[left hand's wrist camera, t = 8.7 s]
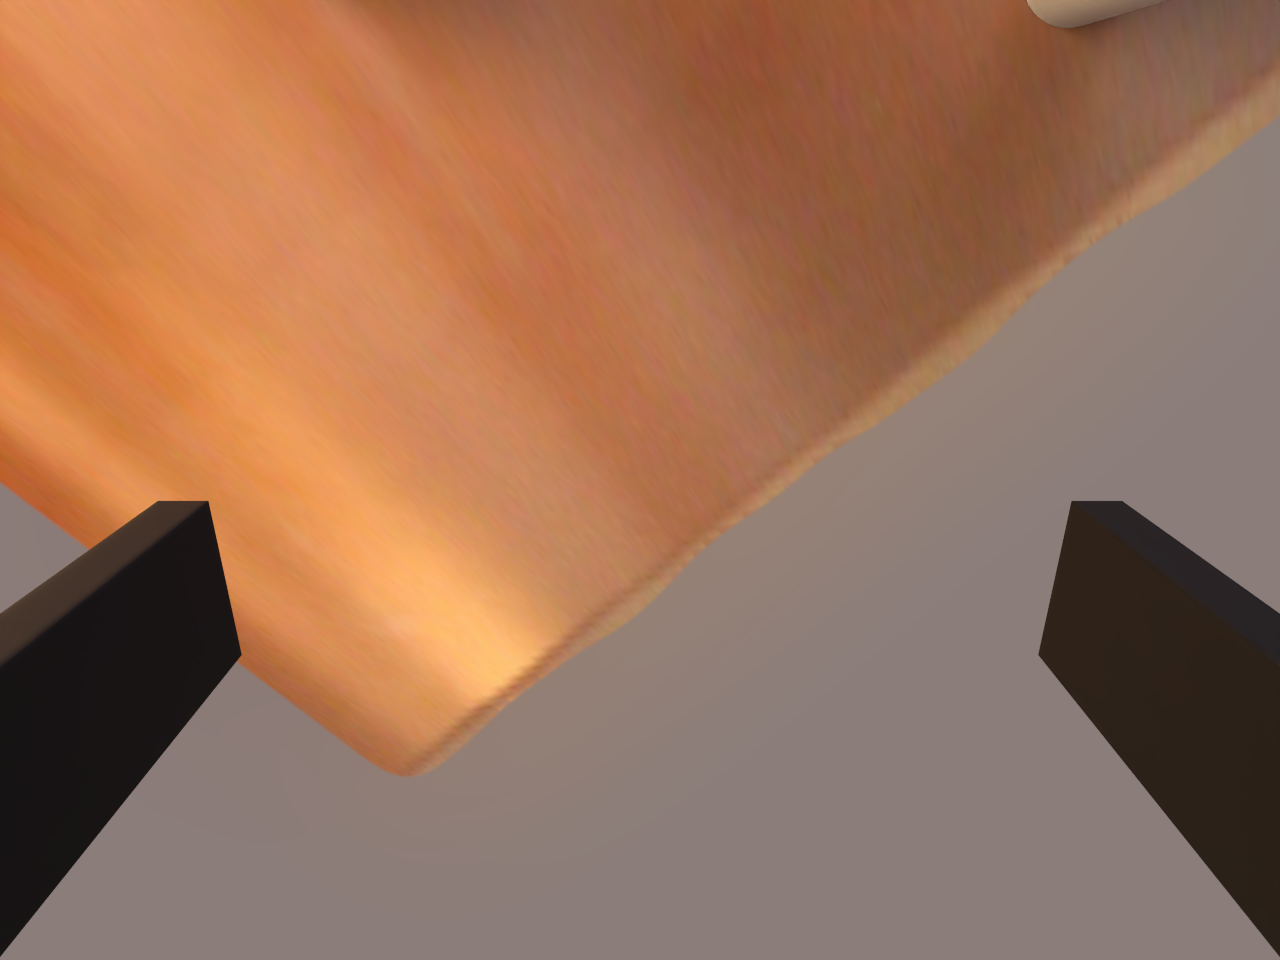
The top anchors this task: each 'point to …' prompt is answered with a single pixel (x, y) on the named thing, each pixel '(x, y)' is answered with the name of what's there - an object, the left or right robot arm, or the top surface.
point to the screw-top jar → (1084, 10)
